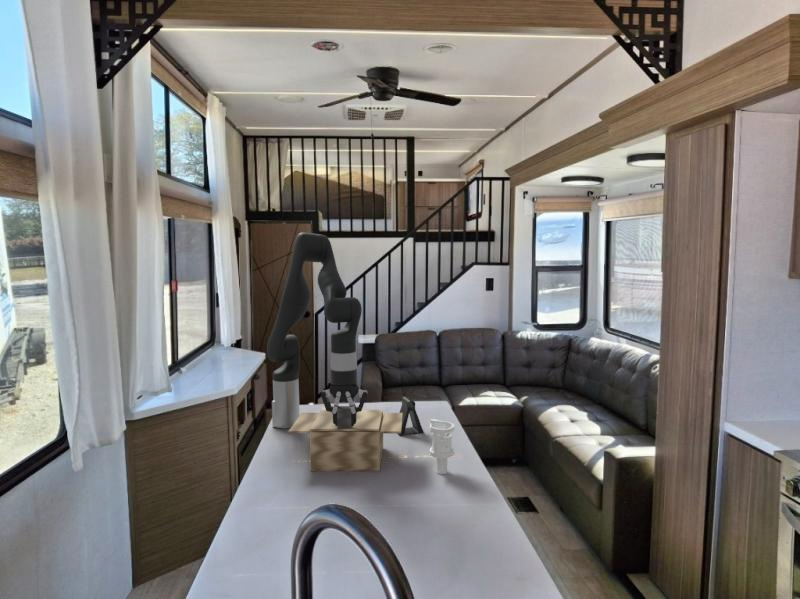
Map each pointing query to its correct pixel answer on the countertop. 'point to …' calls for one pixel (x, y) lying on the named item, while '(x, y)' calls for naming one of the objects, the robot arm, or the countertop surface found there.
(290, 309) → the robot arm
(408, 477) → the countertop surface
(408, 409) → the phone stand
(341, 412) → the lid flap
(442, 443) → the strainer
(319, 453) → the carton
